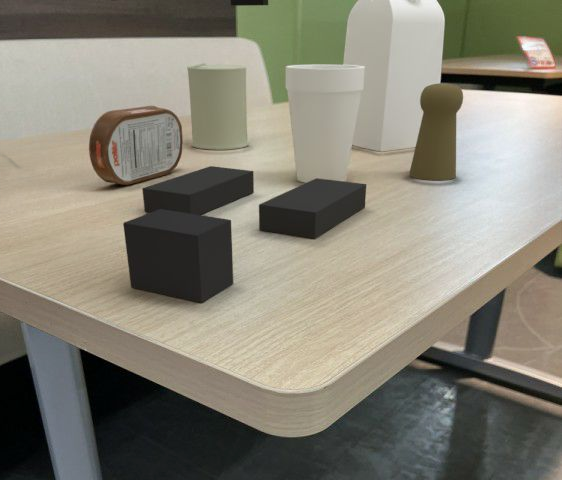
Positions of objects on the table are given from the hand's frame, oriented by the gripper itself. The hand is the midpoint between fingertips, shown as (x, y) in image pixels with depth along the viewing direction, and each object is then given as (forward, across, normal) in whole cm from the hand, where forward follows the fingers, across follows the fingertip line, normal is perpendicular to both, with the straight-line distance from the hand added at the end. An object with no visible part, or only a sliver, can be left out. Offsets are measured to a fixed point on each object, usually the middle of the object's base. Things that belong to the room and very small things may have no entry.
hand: (196, 4), depth 40 cm
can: (+19, +52, +32) cm, 64 cm away
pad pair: (+19, +20, +7) cm, 28 cm away
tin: (+19, +26, +27) cm, 42 cm away
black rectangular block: (+19, -2, +1) cm, 19 cm away
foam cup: (+19, +37, +7) cm, 42 cm away
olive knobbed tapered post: (+19, +46, -5) cm, 50 cm away
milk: (+19, +67, +9) cm, 70 cm away
